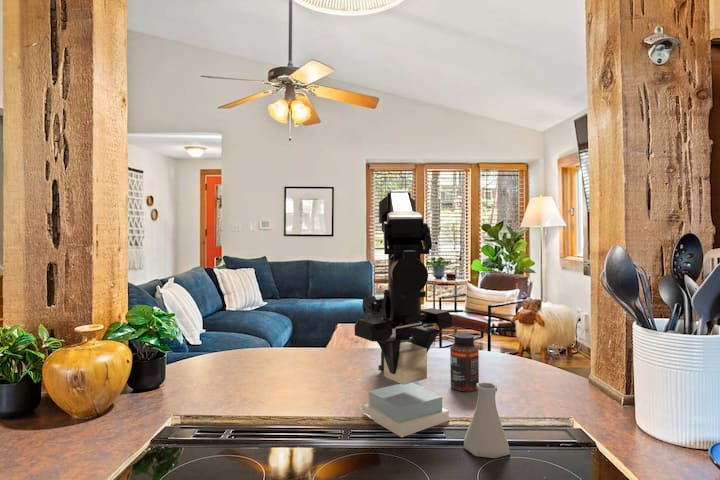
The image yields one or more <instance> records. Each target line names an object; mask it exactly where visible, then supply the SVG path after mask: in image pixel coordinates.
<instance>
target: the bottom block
mask: <svg viewBox="0 0 720 480" xmlns="http://www.w3.org/2000/svg"><path fill="white" fill-rule="evenodd" d="M363 412H364V413H366V414H368V415H370V416H371V417H372V418H373V420H374V421H373V420H372V421H373V422H375V423H376V424H378V425H380V426H382V427H384V429H387V430H388V431H390V432H391V433H393V434H396V435H397V436H398V437H399V438H405V437H406V436H410V435H412V434H415V433H418V432H420V431H423V430H426V429H429V428H432V427H435V426H437V425H440V424H443V423H447V422H448V421H450V410H449V409H446V408H444V407H442V411H440V412H437V413H433V414H430V415H426V416H422V417H419V418H415V419H412V420H408V421H405V422H401V423H397V422H396V421H394V420H393V419H391V418H390V417H388V416H387V415H385V414H383V413H382V412H380V411H379V410H377V409H376V408H374V407H373V406H371V405H370V404H369V402H368V403H365V404H363V405H362V413H363Z"/></svg>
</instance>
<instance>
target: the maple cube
mask: <svg viewBox="0 0 720 480" xmlns="http://www.w3.org/2000/svg"><path fill="white" fill-rule="evenodd" d="M383 376H384V378H386V379H389V380H392V381H394V382H396V383H397V384H403V385H405V384H409V383H412V382H413V383H416V382H419V381H422V380H427V379H428V352H427V348H424V347H421V346H418V345H415V344H412V343H409V342H403V343H400V350H399V357H398V364H397V369H396V373H395V374H391V373H390V371H389V369H388V366H387V363H386V360H385V357H384V370H383Z"/></svg>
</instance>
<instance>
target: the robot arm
mask: <svg viewBox="0 0 720 480" xmlns="http://www.w3.org/2000/svg"><path fill="white" fill-rule="evenodd" d="M386 193H387V194H386V196H385V197H384V198H383V199H381V200H380V201H379V203H378V224H381V232H382V233H383V250H384V251H383V252H384V255H387V256H388V257H387V261H388V262H387V265H388V267H387V270H388V271H387V272H388V273H387V275H388V276H387V277H388V282H387V284H388V285H387V286H388V287H387V289H384V292H383V298H379V299H377V298H376V296H375V295H370V296H364V297H363V298H362V313H363V314H364V315H370V316H371V317H367V318H360V319H358V320H357V321H356V322H355V324H354V336H356V337H359V338H361V339H364V340H367V341H369V342H375V343H377V344H378V345H379V348H380V350H381V352H380V356H381V357H380V358H381V359H380V363H381V364H380V365H378V368H379V369H381V370H383V371H384V357H385V360H386V363H387V366H388V369H389V371H390V373H391V374H395V373H396V369H397V364H398V357H399V350H400V343H403V342H409V343H412V344H415V345H418V346H421V347H424V348H427V353H428V351H429V350H430V348H431V347H432V345H433V344H434V341H435V340H436V338H437V336H438V335H440V334H441V330H443V329H447V328H448V329H449V328H453V316H452V315H451V314H450V312H449V311H447V310H443V309H438V308H435V307H430V308H425V309H424V308H423V309H422V298H426V296H427V291H426V290H423V289H424V288H425V287H426V285H427V283H428V279H429V272H428V269H427V266H426V265H425V264H424V263H423V262H422V258H421V255H430V251H431V250H432V248H433V247H432V246H433V243H432V236H431V235H432V234H431V229H430V227H429V226H428V222H427V221H424V216H423V215H422V214H421V213H420V212H418V211H417V208H416V205H417V204H416V200H414V199H413V197H412V195H411V191H410V190H407V189H391V190H390V189H389V190H387V191H386ZM416 211H417V212H416ZM435 324H436V325H435ZM436 326H438V328H439V329H436Z"/></svg>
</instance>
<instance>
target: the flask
mask: <svg viewBox="0 0 720 480" xmlns="http://www.w3.org/2000/svg"><path fill="white" fill-rule="evenodd" d="M476 390H477V391H478V392H477V393H478V396H477V401H476V402H477V403H476V407H475V410H474V412H473V415H472V418H471V421H470V423H469V426H468V428H467V431H466V433H465V436H464V438H463V448H464V449H465V450H467V451H468V452H469V453H471V454H472V456H474V457H482V458H490V459H497V458H501V457H505V456H509V455H511V452H510V445H509V442H508V438H507V436H506V433H505V431H504V428H503V424H502V422H501V418H500V416H499V412H498V410H497V403H496V392H498V386H497V384H495V383H493V382H487V381H486V382H485V381H482V382H479V383H477V389H476Z"/></svg>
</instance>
